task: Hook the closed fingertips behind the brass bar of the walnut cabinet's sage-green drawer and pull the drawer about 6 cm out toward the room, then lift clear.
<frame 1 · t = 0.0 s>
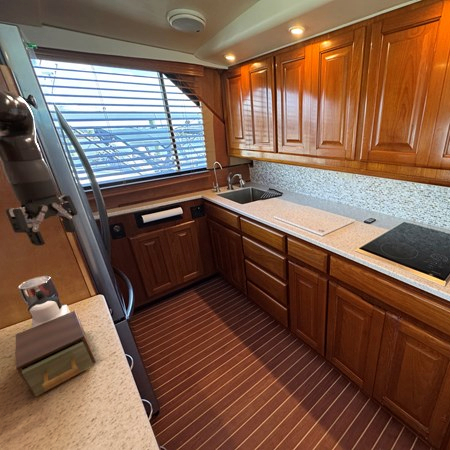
hand: (56, 238, 65), 29 cm above the countertop, tool pointing down, fingers open, 8 cm apart
silver metal tumbler: (54, 322, 75), on the countertop
cabinet: (63, 361, 62), on the countertop
drawer: (58, 359, 57), point 4 cm above the countertop, slide at 0.5 cm
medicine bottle: (59, 335, 70), on the countertop
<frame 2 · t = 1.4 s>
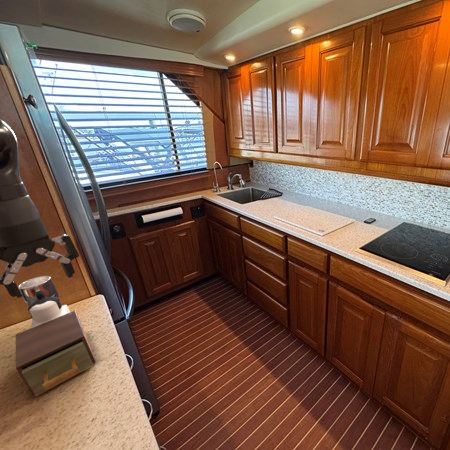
hand: (46, 285, 55), 22 cm above the countertop, tool pointing down, fingers open, 8 cm apart
nothing on the countertop moved.
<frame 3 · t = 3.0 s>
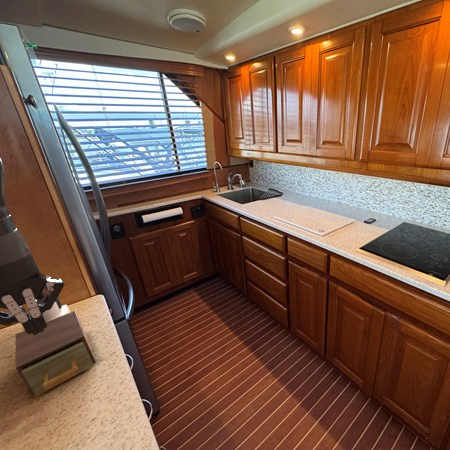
hand: (38, 331, 49), 17 cm above the countertop, tool pointing down, fingers closed
nothing on the countertop moved.
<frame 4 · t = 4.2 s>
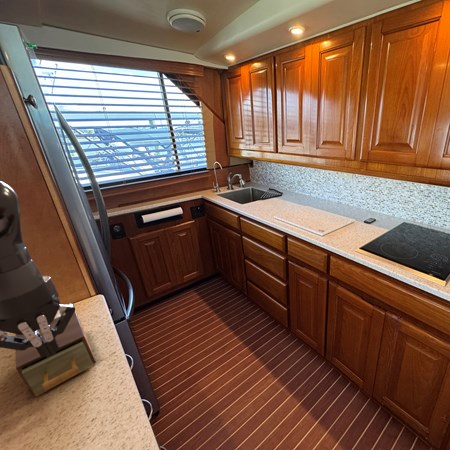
hand: (51, 354, 51), 11 cm above the countertop, tool pointing down, fingers closed
nothing on the countertop moved.
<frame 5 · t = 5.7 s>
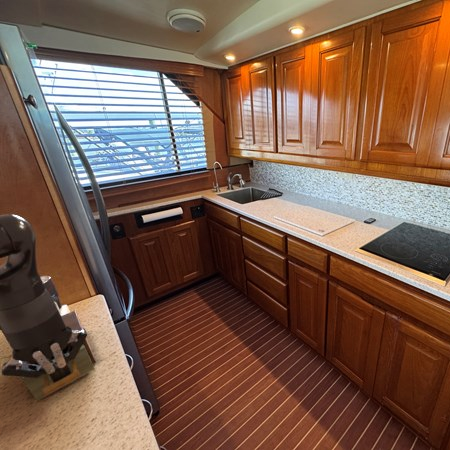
hand: (63, 378, 52), 5 cm above the countertop, tool pointing down, fingers closed
drawer: (59, 363, 56), point 4 cm above the countertop, slide at 2.1 cm, touching gripper
everything else where it was.
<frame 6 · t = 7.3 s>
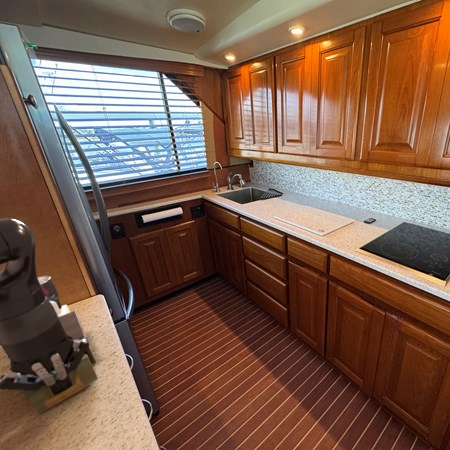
hand: (64, 390, 50), 5 cm above the countertop, tool pointing down, fingers closed
drawer: (61, 373, 54), point 4 cm above the countertop, slide at 5.9 cm
everything else where it was.
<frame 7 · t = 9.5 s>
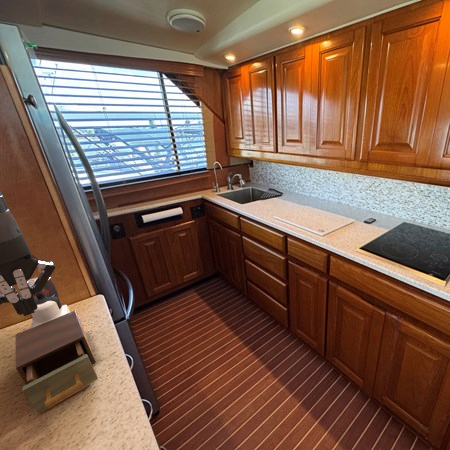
hand: (29, 312, 50), 20 cm above the countertop, tool pointing down, fingers closed
nothing on the countertop moved.
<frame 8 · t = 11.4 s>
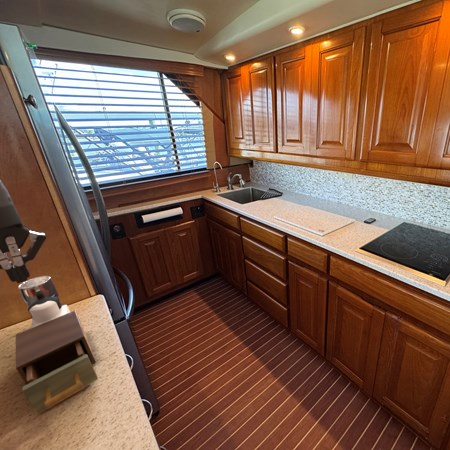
hand: (22, 280, 52), 25 cm above the countertop, tool pointing down, fingers closed
nothing on the countertop moved.
at the end: drawer slide at 5.9 cm; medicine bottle moved 0.2 cm from its start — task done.
